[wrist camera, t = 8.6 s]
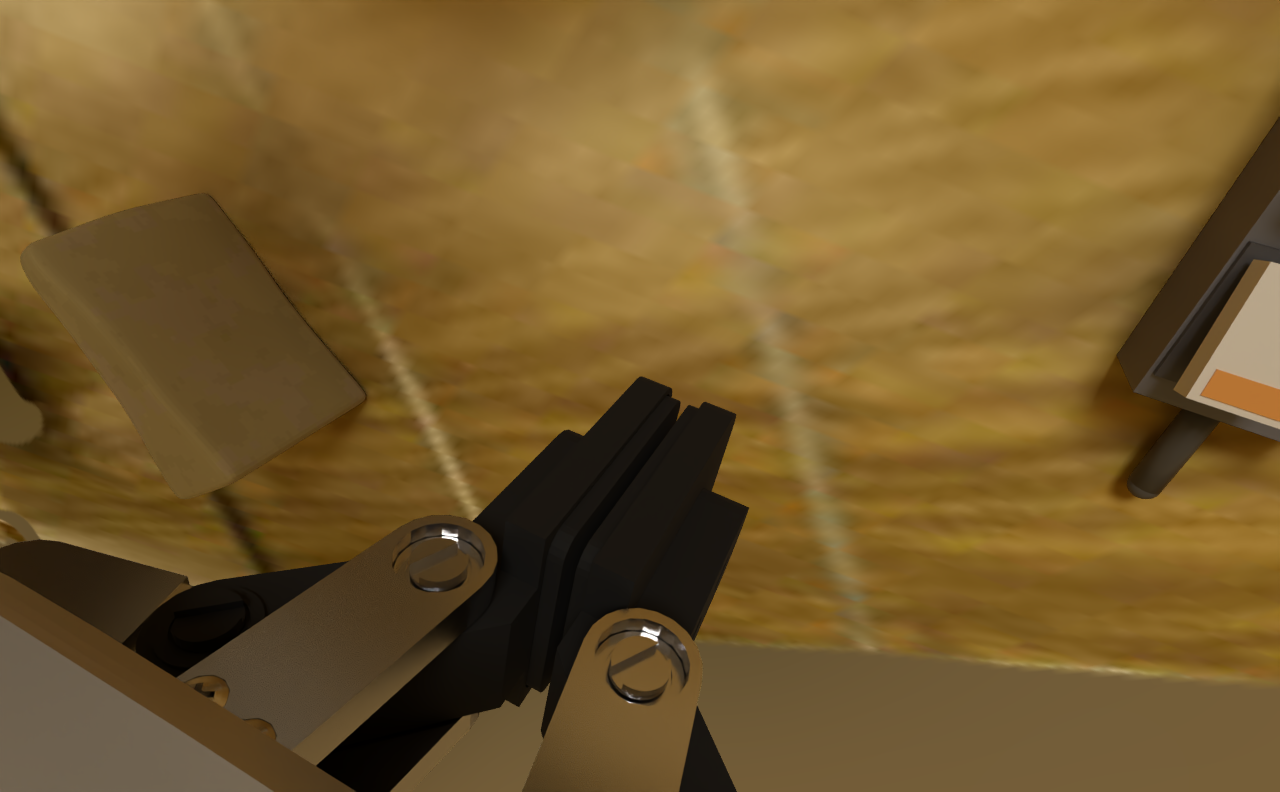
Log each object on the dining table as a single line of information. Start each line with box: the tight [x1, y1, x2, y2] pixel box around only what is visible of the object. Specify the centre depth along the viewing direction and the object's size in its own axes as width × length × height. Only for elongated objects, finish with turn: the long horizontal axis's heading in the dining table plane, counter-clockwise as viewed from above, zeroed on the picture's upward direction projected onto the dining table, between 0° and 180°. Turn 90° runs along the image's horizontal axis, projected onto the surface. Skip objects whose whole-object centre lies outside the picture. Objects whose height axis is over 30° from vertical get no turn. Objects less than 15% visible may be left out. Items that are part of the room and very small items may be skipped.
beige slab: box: [20, 193, 366, 499], centre depth 55 cm, size 22×10×15 cm, turn 28°
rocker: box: [1173, 259, 1280, 429], centre depth 27 cm, size 6×4×2 cm, turn 168°
